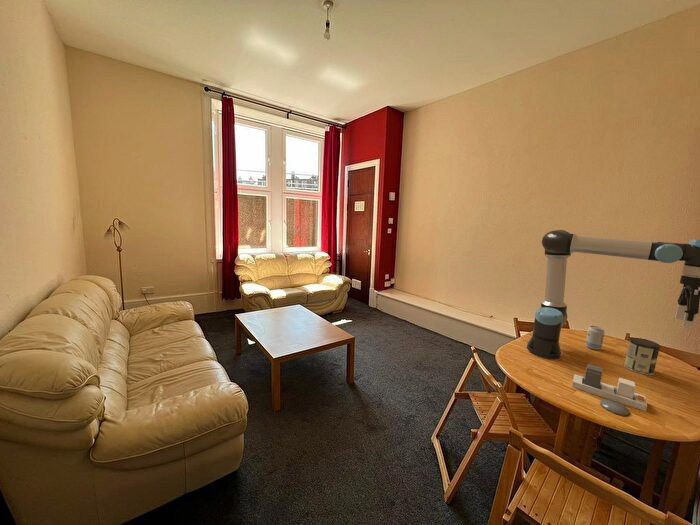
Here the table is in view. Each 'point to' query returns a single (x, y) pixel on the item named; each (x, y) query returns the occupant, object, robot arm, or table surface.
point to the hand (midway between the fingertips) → (682, 323)
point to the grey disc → (614, 407)
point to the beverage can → (595, 337)
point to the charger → (593, 376)
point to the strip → (610, 393)
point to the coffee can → (642, 356)
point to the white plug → (625, 388)
